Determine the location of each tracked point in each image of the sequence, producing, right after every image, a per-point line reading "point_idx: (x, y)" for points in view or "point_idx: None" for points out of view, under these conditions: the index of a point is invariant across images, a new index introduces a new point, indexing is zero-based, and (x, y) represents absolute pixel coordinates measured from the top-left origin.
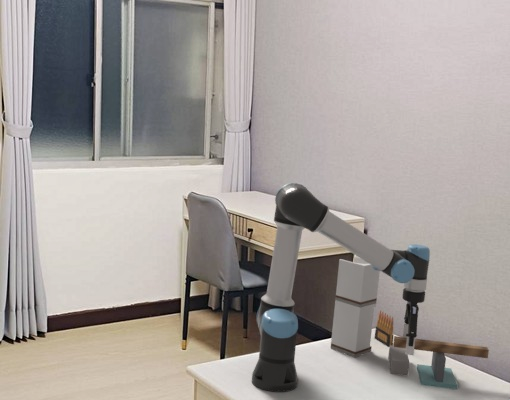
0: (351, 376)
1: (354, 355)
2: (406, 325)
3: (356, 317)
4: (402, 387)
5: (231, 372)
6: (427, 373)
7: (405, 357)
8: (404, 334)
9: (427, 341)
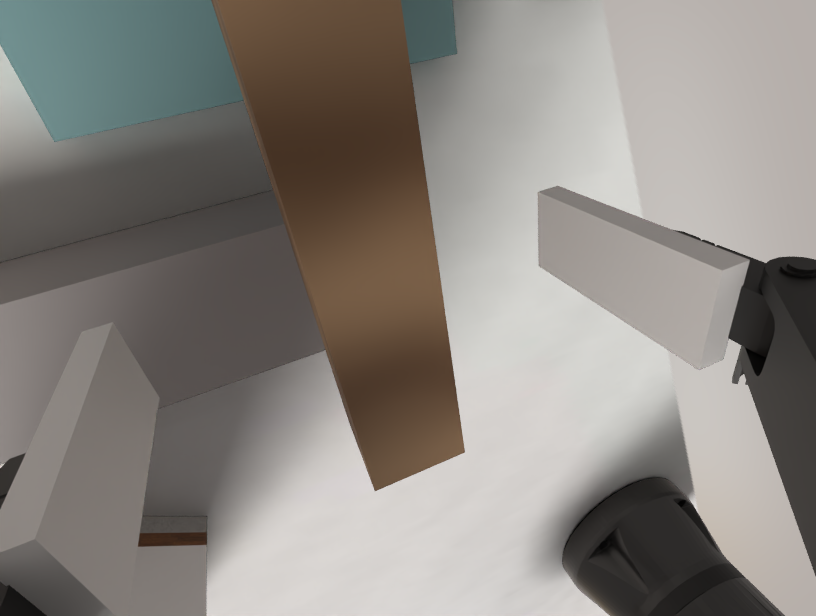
0: (486, 414)
1: (205, 528)
2: (108, 584)
3: None
4: (529, 171)
5: (582, 610)
6: None
7: (235, 265)
8: (141, 456)
9: (331, 51)
